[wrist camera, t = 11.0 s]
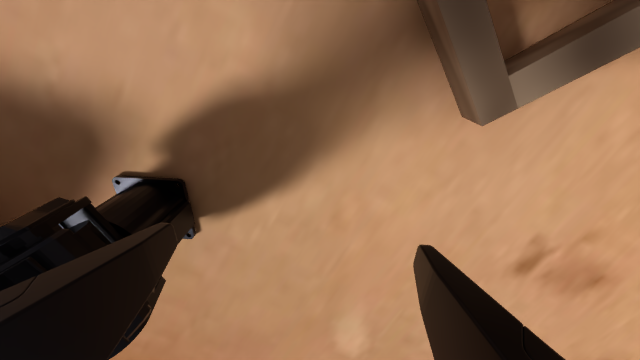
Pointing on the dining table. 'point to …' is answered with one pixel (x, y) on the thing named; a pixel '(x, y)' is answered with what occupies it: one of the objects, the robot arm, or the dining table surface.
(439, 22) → the collar
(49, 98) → the dining table surface
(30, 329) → the robot arm
